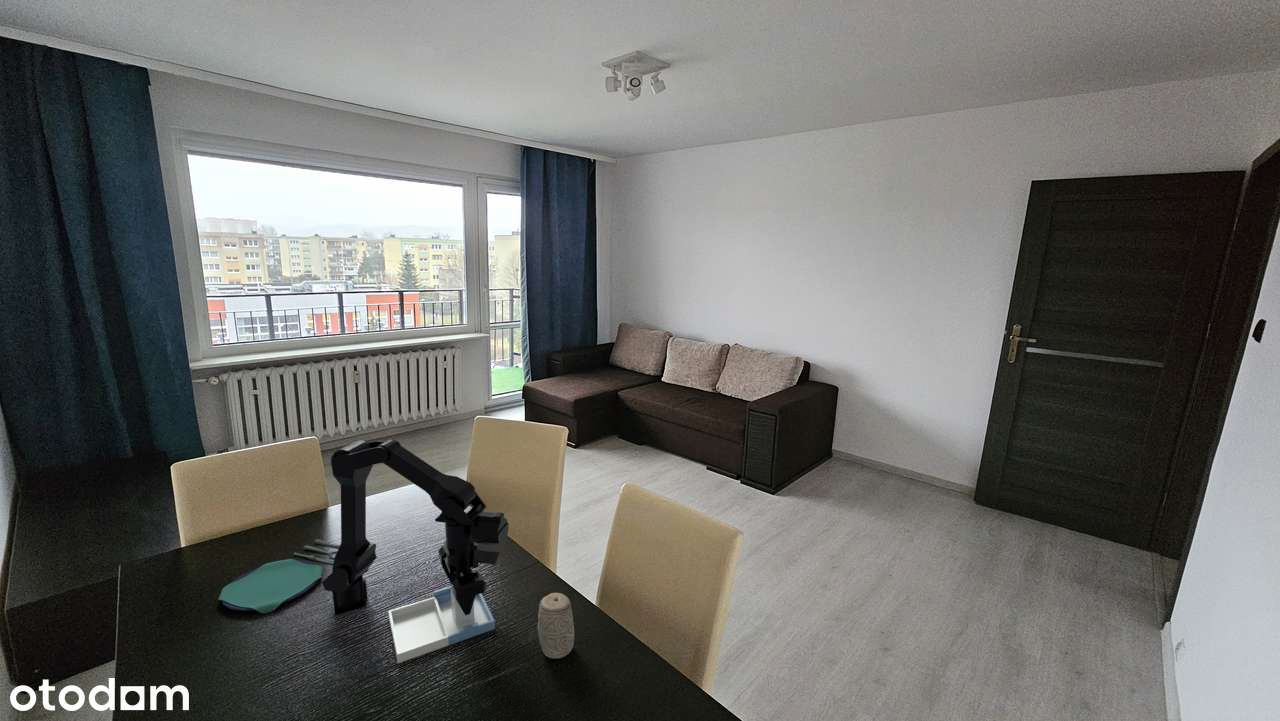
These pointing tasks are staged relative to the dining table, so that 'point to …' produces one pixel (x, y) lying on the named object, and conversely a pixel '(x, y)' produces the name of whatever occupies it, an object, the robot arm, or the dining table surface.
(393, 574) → the dining table surface
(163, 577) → the dining table surface
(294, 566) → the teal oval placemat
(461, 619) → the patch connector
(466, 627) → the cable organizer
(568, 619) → the carving
